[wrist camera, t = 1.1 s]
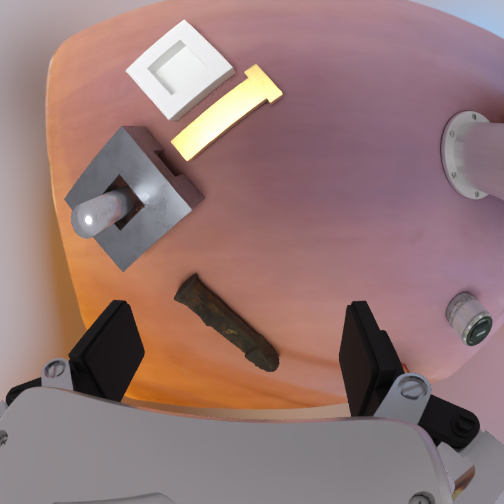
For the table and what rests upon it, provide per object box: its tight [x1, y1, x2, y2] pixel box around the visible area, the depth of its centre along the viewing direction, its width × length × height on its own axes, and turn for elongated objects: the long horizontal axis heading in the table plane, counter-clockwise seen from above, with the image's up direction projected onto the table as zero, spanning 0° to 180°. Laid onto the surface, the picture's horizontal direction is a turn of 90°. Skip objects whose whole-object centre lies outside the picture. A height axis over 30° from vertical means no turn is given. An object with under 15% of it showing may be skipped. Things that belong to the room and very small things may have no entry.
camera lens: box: [446, 293, 492, 346], centre depth 34 cm, size 6×6×8 cm
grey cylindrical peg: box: [71, 185, 145, 239], centre depth 28 cm, size 3×3×13 cm
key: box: [171, 64, 283, 161], centre depth 28 cm, size 13×4×3 cm, turn 128°
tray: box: [126, 20, 236, 121], centre depth 26 cm, size 9×9×3 cm
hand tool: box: [174, 275, 279, 372], centre depth 38 cm, size 19×4×5 cm, turn 42°
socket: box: [64, 126, 204, 272], centre depth 31 cm, size 12×12×6 cm
